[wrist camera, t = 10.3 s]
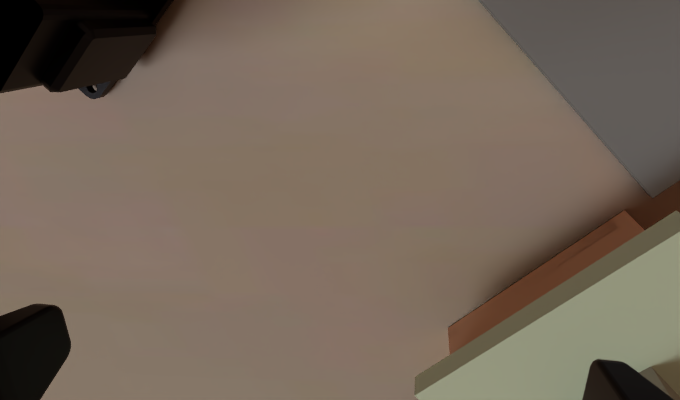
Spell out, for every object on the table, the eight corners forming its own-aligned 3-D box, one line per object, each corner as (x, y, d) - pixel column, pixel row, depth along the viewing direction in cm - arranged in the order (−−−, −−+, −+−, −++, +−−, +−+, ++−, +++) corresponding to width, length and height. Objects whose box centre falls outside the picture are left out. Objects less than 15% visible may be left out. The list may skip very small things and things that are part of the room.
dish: (447, 327, 22) (451, 382, 19) (624, 210, 18) (666, 251, 15) (569, 446, 23) (592, 515, 20) (754, 356, 20) (818, 423, 17)
